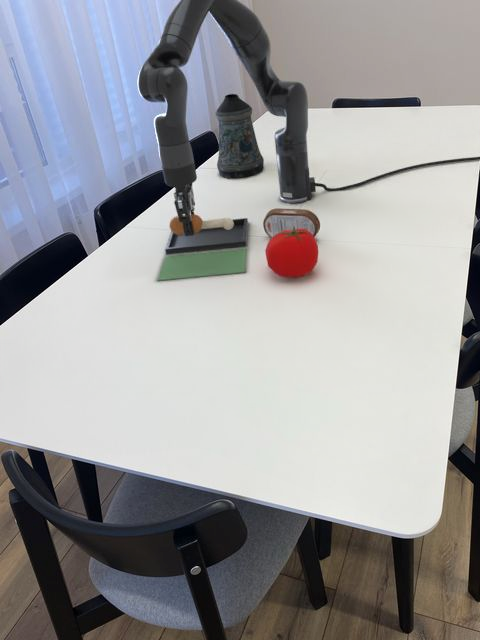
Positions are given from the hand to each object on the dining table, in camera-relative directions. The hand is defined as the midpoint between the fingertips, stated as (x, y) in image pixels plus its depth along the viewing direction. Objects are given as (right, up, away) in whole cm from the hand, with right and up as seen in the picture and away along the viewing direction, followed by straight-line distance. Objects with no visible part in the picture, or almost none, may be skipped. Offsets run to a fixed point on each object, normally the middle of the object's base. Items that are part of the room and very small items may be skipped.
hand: (190, 230), depth 142 cm
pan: (+3, +1, +18) cm, 18 cm away
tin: (+26, 0, +12) cm, 28 cm away
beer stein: (+9, +34, +63) cm, 73 cm away
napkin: (+3, -8, +5) cm, 10 cm away
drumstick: (+3, 0, 0) cm, 3 cm away
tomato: (+25, -11, -3) cm, 28 cm away
